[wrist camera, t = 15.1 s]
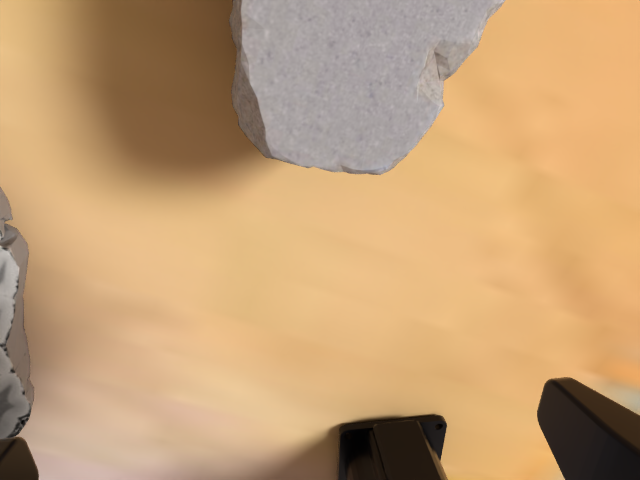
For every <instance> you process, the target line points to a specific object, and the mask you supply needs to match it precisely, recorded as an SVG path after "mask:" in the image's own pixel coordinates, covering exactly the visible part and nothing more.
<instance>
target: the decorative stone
mask: <svg viewBox="0 0 640 480" xmlns="http://www.w3.org/2000/svg"><path fill="white" fill-rule="evenodd" d="M504 1H505V0H233V8H232V12H231V15H230V19H229V23H230V27H231V31H232V39H233V42H234V44H235V46H236V48H237V58H236V66H235V74H234V79H233V83H232V90H231V94H232V104H233V108H234V110H235V111H236V113H237V114H238V116H239V118H238V125H239V126H240V128H241V129H242V131H243V132H244V134H245V135H246V136H247V137H248V138H249V140H250V141H251V142H252V143H253V144H254V145H255V146H256V147H257V148H258V150H259V151H260V152H261V153H262V154H263V155H264V156H265V157H266V158H271V159H277V160H280V161H284V162H287V163H290V164H294V165H298V166H302V167H306V168H310V167H316V168H320V169H323V170H327V171H332V172H347V173H351V174H366V173H367V174H373V175H381V174H383V173H385V172H388V171H389V170H391V169H392V168H394V167H395V166H396V165H397V164H398V163H399V162H400V161H401V160H402V159H404V158H405V157H406V156H407V154H408V153H409V152H410V151H411V150H412V149H413V148H414V147H415V146H416V145H417V143H418V142H419V141H420V139H421V138H422V137H423V136H424V134H425V133H426V132H427V131H428V130H429V128H430V127H431V126H432V124H433V122H434V121H435V119H436V118H437V116H438V114H439V113H440V111H441V110H442V108H443V107H444V103H443V85H444V80H446V79H447V78H448V77H450V76H451V75H453V74H454V73H455V72H456V70H457V69H458V68H459V67H460V66H461V64H462V63H463V62H464V61H465V59H466V58H467V57H468V56H469V55H470V54H471V53H472V52H473V51H474V50H475V49H476V48H477V47H478V44H479V41H480V38H481V36H482V33H483V30H484V28H485V25H486V23H487V21H488V19H489V18H490V17H491V16H492V15H493V14H494V13H495V12H496V11H497V10H498V9H499V8H500V7H501V5H502V4H503V3H504Z"/></svg>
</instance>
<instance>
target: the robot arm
mask: <svg viewBox="0 0 640 480" xmlns="http://www.w3.org/2000/svg"><path fill="white" fill-rule="evenodd" d="M537 418H538V422H539V425H540V428H541V430H542V432H543V434H544V436H545V438H546V440H547V442H548V444H549V447H550V449H551V451H552V453H553V455H554V457H555V459H556V461H557V464H558V466H559V468H560V470H561V472H562V474H563V476H564V478H565V480H640V415H638V414H636V413H634V412H632V411H631V410H629V409H627V408H625V407H623V406H622V405H620V404H618V403H616V402H614V401H613V400H611V399H609V398H607V397H605V396H604V395H602V394H600V393H598V392H596V391H595V390H593V389H591V388H589V387H587V386H585V385H584V384H582V383H580V382H578V381H576V380H575V379H572V378H568V377H564V378H555V379H549V380H548V381H547V382H546V383H545V385H544V388H543V392H542V395H541V399H540V403H539V406H538V410H537ZM446 428H447V423H446V421H445V419H444V418H443V416H440V415H436V416H426V417H416V418H406V419H396V420H387V421H377V422H367V423H357V424H347V425H344V426H342V427H341V428H340V429H339V439H338V464H337V480H448V479H447V477H446V474H445V472H444V470H443V467H442V465H441V463H440V460H441V455H442V449H443V444H444V438H445V433H446ZM347 433H348V434H347ZM0 480H39V474H38V469H37V466H36V464H35V461H34V459H33V457H32V454H31V452H30V450H29V447H28V445H27V442H26V441H25V440H24V439H23V438H22V437H10V438H1V439H0Z"/></svg>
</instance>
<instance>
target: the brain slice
mask: <svg viewBox="0 0 640 480" xmlns="http://www.w3.org/2000/svg"><path fill="white" fill-rule="evenodd" d="M12 219H13V218H12V214H11V207H10V204H9V201H8V199H7V197H6V196H5V194H4V192H3V191H2V189H1V187H0V439H1V438H10V437H15V436H16V435H18V434H19V433H20V431H21V430H22V428H23V427H24V425H25V424H26V422H27V421H28V419H29V416H30V413H31V409H32V404H33V400H34V387H33V385H32V383H31V381H30V380H29V376H30V356H29V350H28V343H27V337H26V333H25V329H24V300H23V293H24V287H25V280H26V273H27V264H28V255H29V251H28V245H27V242H26V241H25V240H24V238H23V237H22V235H21V234H20V232H19V231H18V229H17V228H15V227H13V226H10V225H8V224H4V222H5V221H7V220H12Z"/></svg>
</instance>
